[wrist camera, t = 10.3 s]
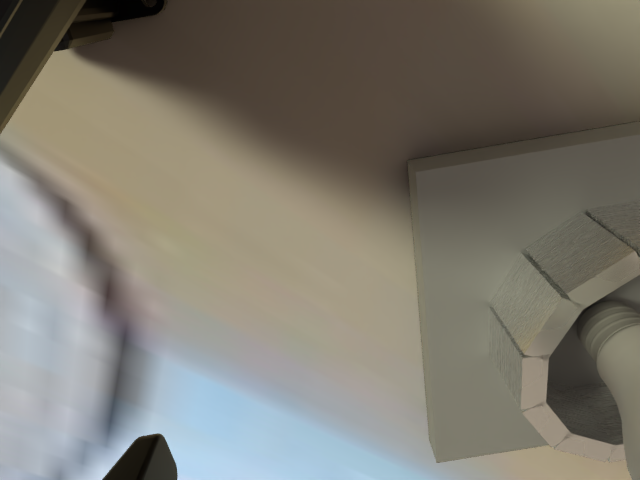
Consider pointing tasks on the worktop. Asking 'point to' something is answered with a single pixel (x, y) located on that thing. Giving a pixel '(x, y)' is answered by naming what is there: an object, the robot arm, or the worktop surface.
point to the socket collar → (564, 325)
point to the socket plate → (502, 269)
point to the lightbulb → (617, 365)
